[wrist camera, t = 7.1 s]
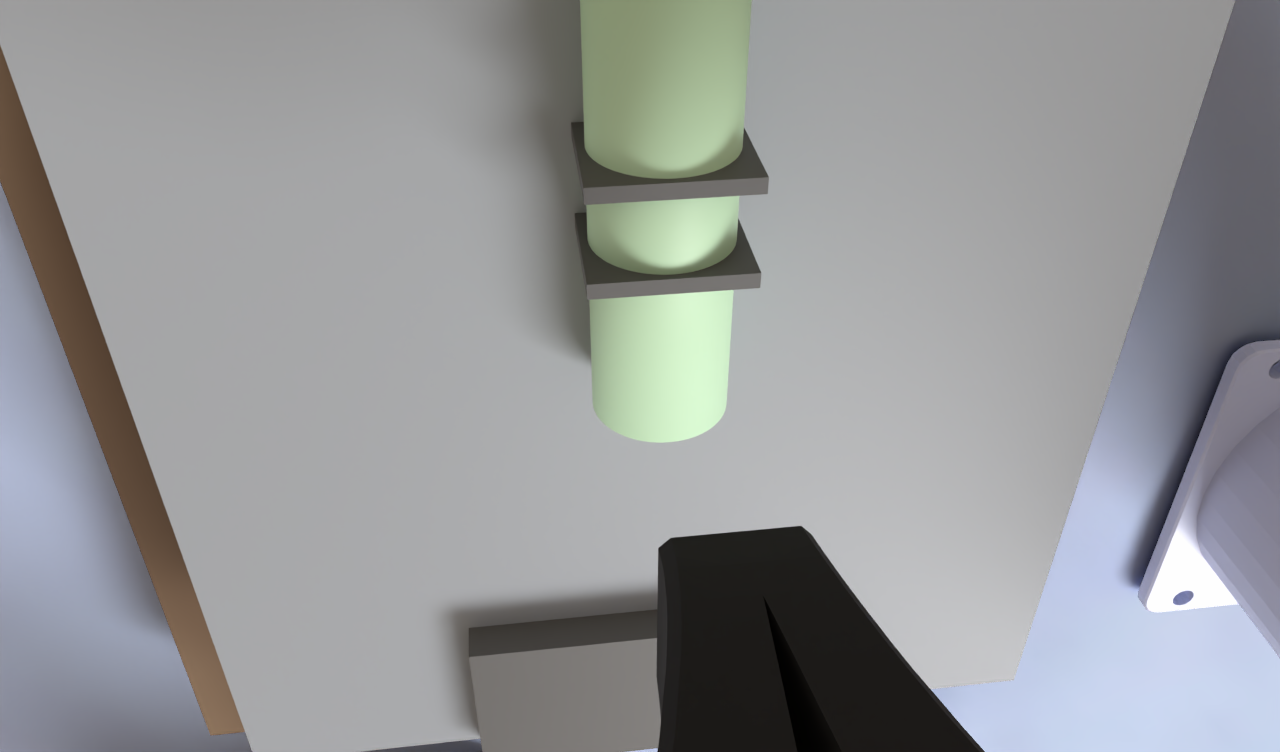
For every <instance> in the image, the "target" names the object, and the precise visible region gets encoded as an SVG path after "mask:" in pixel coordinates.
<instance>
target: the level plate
mask: <svg viewBox="0 0 1280 752" xmlns="http://www.w3.org/2000/svg"><path fill="white" fill-rule="evenodd" d="M1234 4H1235V0H0V46H1V48H2V51H3V54H4V57H5V60H6V62H7V65H8V68H9V71H10V74H11V76H12V79H13V82H14V85H15V88H16V90H17V93H18V96H19V99H20V102H21V105H22V107H23V110H24V113H25V116H26V119H27V121H28V124H29V127H30V130H31V133H32V135H33V138H34V141H35V144H36V147H37V149H38V152H39V155H40V158H41V161H42V163H43V166H44V169H45V172H46V175H47V177H48V180H49V183H50V186H51V189H52V192H53V194H54V197H55V200H56V203H57V206H58V208H59V211H60V214H61V217H62V220H63V222H64V225H65V228H66V231H67V234H68V236H69V239H70V242H71V245H72V248H73V250H74V253H75V256H76V259H77V262H78V264H79V267H80V270H81V273H82V276H83V278H84V281H85V284H86V287H87V290H88V293H89V295H90V298H91V301H92V304H93V307H94V309H95V312H96V315H97V318H98V321H99V323H100V326H101V329H102V332H103V335H104V337H105V340H106V343H107V346H108V349H109V351H110V354H111V357H112V360H113V363H114V365H115V368H116V371H117V374H118V377H119V380H120V382H121V385H122V388H123V391H124V394H125V396H126V399H127V402H128V405H129V408H130V410H131V413H132V416H133V419H134V422H135V424H136V427H137V430H138V433H139V436H140V438H141V441H142V444H143V447H144V450H145V452H146V455H147V458H148V461H149V464H150V467H151V469H152V472H153V475H154V478H155V481H156V483H157V486H158V489H159V492H160V495H161V497H162V500H163V503H164V506H165V509H166V511H167V514H168V517H169V520H170V523H171V525H172V528H173V531H174V534H175V537H176V539H177V542H178V545H179V548H180V551H181V553H182V556H183V559H184V562H185V565H186V568H187V570H188V573H189V576H190V579H191V582H192V584H193V587H194V590H195V593H196V596H197V598H198V601H199V604H200V607H201V610H202V612H203V615H204V618H205V621H206V624H207V626H208V629H209V632H210V635H211V638H212V640H213V643H214V646H215V649H216V652H217V655H218V657H219V660H220V663H221V666H222V669H223V671H224V674H225V677H226V680H227V683H228V685H229V688H230V691H231V694H232V697H233V699H234V702H235V705H236V708H237V711H238V713H239V716H240V719H241V722H242V725H243V727H244V730H245V733H246V736H247V739H248V742H249V744H250V747H251V750H252V752H362V751H371V750H381V749H390V748H399V747H408V746H417V745H426V744H435V743H444V742H454V741H463V740H472V739H481V746H482V752H626V751H635V750H644V749H653V748H658V745H659V737H660V726H661V714H660V703H659V694H658V685H657V677H656V673H657V601H658V548H659V547H660V546H661V545H663V544H664V543H665V542H666V541H667V540H669V539H670V538H674V537H684V536H695V535H706V534H717V533H728V532H739V531H750V530H760V529H771V528H782V527H793V526H802V527H803V528H805V529H806V530H807V531H808V532H809V533H811V534H812V536H813V537H814V539H815V540H816V542H817V543H818V544H819V546H820V547H821V549H822V550H823V552H824V553H825V554H826V556H827V557H828V559H829V560H830V561H831V563H832V564H833V566H834V567H835V568H836V570H837V571H838V573H839V574H840V575H841V577H842V578H843V579H844V581H845V582H846V584H847V585H848V586H849V588H850V589H851V590H852V592H853V593H854V594H855V596H856V597H857V598H858V600H859V601H860V602H861V604H862V605H863V606H864V608H865V609H866V610H867V611H868V613H869V614H870V615H871V617H872V618H873V619H874V620H875V622H876V623H877V624H878V626H879V627H880V628H881V629H882V631H883V632H884V633H885V635H886V636H887V637H888V638H889V640H890V641H891V642H892V643H893V645H894V646H895V647H896V648H897V650H898V651H899V652H900V653H901V655H902V656H903V657H904V658H905V660H906V661H907V662H908V663H909V664H910V666H911V667H912V668H913V669H914V671H915V672H916V673H917V674H918V675H919V676H920V678H921V679H922V680H923V681H924V682H925V683H926V685H927V686H928V687H929V688H930V689H937V688H946V687H955V686H965V685H974V684H983V683H992V682H1001V681H1010V680H1014V677H1015V674H1016V671H1017V668H1018V665H1019V662H1020V659H1021V656H1022V653H1023V650H1024V647H1025V644H1026V641H1027V638H1028V635H1029V631H1030V628H1031V625H1032V622H1033V619H1034V616H1035V613H1036V610H1037V607H1038V604H1039V601H1040V598H1041V595H1042V592H1043V589H1044V586H1045V582H1046V579H1047V576H1048V573H1049V570H1050V567H1051V564H1052V561H1053V558H1054V555H1055V552H1056V549H1057V546H1058V543H1059V540H1060V537H1061V533H1062V530H1063V527H1064V524H1065V521H1066V518H1067V515H1068V512H1069V509H1070V506H1071V503H1072V500H1073V497H1074V494H1075V491H1076V488H1077V484H1078V481H1079V478H1080V475H1081V472H1082V469H1083V466H1084V463H1085V460H1086V457H1087V454H1088V451H1089V448H1090V445H1091V442H1092V439H1093V435H1094V432H1095V429H1096V426H1097V423H1098V420H1099V417H1100V414H1101V411H1102V408H1103V405H1104V402H1105V399H1106V396H1107V393H1108V389H1109V386H1110V383H1111V380H1112V377H1113V374H1114V371H1115V368H1116V365H1117V362H1118V359H1119V356H1120V353H1121V350H1122V347H1123V344H1124V340H1125V337H1126V334H1127V331H1128V328H1129V325H1130V322H1131V319H1132V316H1133V313H1134V310H1135V307H1136V304H1137V301H1138V298H1139V295H1140V291H1141V288H1142V285H1143V282H1144V279H1145V276H1146V273H1147V270H1148V267H1149V264H1150V261H1151V258H1152V255H1153V252H1154V249H1155V246H1156V242H1157V239H1158V236H1159V233H1160V230H1161V227H1162V224H1163V221H1164V218H1165V215H1166V212H1167V209H1168V206H1169V203H1170V200H1171V197H1172V193H1173V190H1174V187H1175V184H1176V181H1177V178H1178V175H1179V172H1180V169H1181V166H1182V163H1183V160H1184V157H1185V154H1186V151H1187V148H1188V144H1189V141H1190V138H1191V135H1192V132H1193V129H1194V126H1195V123H1196V120H1197V117H1198V114H1199V111H1200V108H1201V105H1202V102H1203V99H1204V95H1205V92H1206V89H1207V86H1208V83H1209V80H1210V77H1211V74H1212V71H1213V68H1214V65H1215V62H1216V59H1217V56H1218V53H1219V49H1220V46H1221V43H1222V40H1223V37H1224V34H1225V31H1226V28H1227V25H1228V22H1229V19H1230V16H1231V13H1232V10H1233V7H1234Z"/></svg>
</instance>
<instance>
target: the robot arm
mask: <svg viewBox="0 0 1280 752" xmlns="http://www.w3.org/2000/svg"><path fill="white" fill-rule="evenodd" d="M1277 361H1279V362H1278V363H1276V362H1277ZM1274 363H1276V364H1275V365H1273V364H1274ZM1272 365H1273V366H1272ZM1138 598H1139V600H1140V601H1141V603H1142V604H1143V606H1144V607H1145V609H1146V610H1148V611H1150V612H1166V611H1176V610H1186V609H1195V608H1205V607H1214V606H1224V605H1234V604H1239V605H1240V606H1241V608H1242V609H1243V610H1244V612H1245V613H1246V614H1247V616H1248V617H1249V618H1250V620H1251V621H1252V622H1253V624H1254V625H1255V626H1256V628H1257V629H1258V630H1259V632H1260V633H1261V634H1262V635H1263V637H1264V638H1265V639H1266V641H1267V642H1268V643H1269V645H1270V646H1271V647H1272V649H1273V650H1274V651H1275V653H1276V654H1277V655H1278V657H1279V658H1280V340H1270V341H1257V342H1253V343H1249V344H1246V345H1244V346H1243V347H1241V348H1239V349H1238V350H1237V351H1236V352H1235V353H1233V354H1232V356H1231V358H1230V359H1229V361H1228V363H1227V365H1226V368H1225V370H1224V373H1223V375H1222V378H1221V381H1220V383H1219V386H1218V388H1217V391H1216V393H1215V396H1214V399H1213V401H1212V404H1211V406H1210V409H1209V411H1208V414H1207V416H1206V419H1205V422H1204V424H1203V427H1202V429H1201V432H1200V434H1199V437H1198V440H1197V442H1196V445H1195V447H1194V450H1193V452H1192V455H1191V457H1190V460H1189V463H1188V465H1187V468H1186V470H1185V473H1184V475H1183V478H1182V481H1181V483H1180V486H1179V488H1178V491H1177V493H1176V496H1175V498H1174V501H1173V504H1172V506H1171V509H1170V511H1169V514H1168V516H1167V519H1166V522H1165V524H1164V527H1163V529H1162V532H1161V534H1160V537H1159V539H1158V542H1157V545H1156V547H1155V550H1154V552H1153V555H1152V557H1151V560H1150V563H1149V565H1148V568H1147V570H1146V573H1145V575H1144V578H1143V580H1142V583H1141V586H1140V588H1139V591H1138ZM656 677H657V685H658V694H659V703H660V714H661V726H660V737H659V745H658V752H984V750H983V749H982V748H981V747H980V746H979V745H978V744H977V743H976V741H975V740H974V739H973V738H972V737H971V736H970V735H969V734H968V733H967V731H966V730H965V729H964V728H963V727H962V726H961V725H960V723H959V722H958V721H957V720H956V719H955V718H954V716H953V715H952V714H951V713H950V712H949V711H948V709H947V708H946V707H945V706H944V705H943V703H942V702H941V701H940V700H939V699H938V698H937V696H936V695H935V694H934V693H933V692H932V691H931V689H930V688H929V687H928V686H927V685H926V683H925V682H924V681H923V680H922V679H921V678H920V676H919V675H918V674H917V673H916V672H915V671H914V669H913V668H912V667H911V666H910V664H909V663H908V662H907V661H906V660H905V658H904V657H903V656H902V655H901V653H900V652H899V651H898V650H897V648H896V647H895V646H894V645H893V643H892V642H891V641H890V640H889V638H888V637H887V636H886V635H885V633H884V632H883V631H882V629H881V628H880V627H879V626H878V624H877V623H876V622H875V620H874V619H873V618H872V617H871V615H870V614H869V613H868V611H867V610H866V609H865V608H864V606H863V605H862V604H861V602H860V601H859V600H858V598H857V597H856V596H855V594H854V593H853V592H852V590H851V589H850V588H849V586H848V585H847V584H846V582H845V581H844V579H843V578H842V577H841V575H840V574H839V573H838V571H837V570H836V568H835V567H834V566H833V564H832V563H831V561H830V560H829V559H828V557H827V556H826V554H825V553H824V552H823V550H822V549H821V547H820V546H819V544H818V543H817V542H816V540H815V539H814V537H813V536H812V534H811V533H809V532H808V531H807V530H806V529H805V528H803V527H802V526H793V527H782V528H771V529H760V530H750V531H739V532H728V533H717V534H706V535H695V536H684V537H674V538H670V539H669V540H667V541H666V542H665V543H664V544H663V545H661V546H660V547H659V548H658V601H657V673H656Z"/></svg>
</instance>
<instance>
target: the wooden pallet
mask: <svg viewBox="0 0 1280 752" xmlns="http://www.w3.org/2000/svg"><path fill="white" fill-rule="evenodd" d="M0 182H1V184H2V187H3V190H4V192H5V195H6V197H7V200H8V203H9V205H10V208H11V211H12V213H13V216H14V219H15V221H16V224H17V226H18V229H19V232H20V234H21V237H22V240H23V242H24V245H25V248H26V250H27V253H28V255H29V258H30V261H31V263H32V266H33V269H34V271H35V274H36V277H37V279H38V282H39V284H40V287H41V290H42V292H43V295H44V298H45V300H46V303H47V306H48V308H49V311H50V313H51V316H52V319H53V321H54V324H55V327H56V329H57V332H58V335H59V337H60V340H61V342H62V345H63V348H64V350H65V353H66V356H67V358H68V361H69V364H70V366H71V369H72V371H73V374H74V377H75V379H76V382H77V385H78V387H79V390H80V393H81V395H82V398H83V400H84V403H85V406H86V408H87V411H88V414H89V416H90V419H91V422H92V424H93V427H94V429H95V432H96V435H97V437H98V440H99V443H100V445H101V448H102V451H103V453H104V456H105V458H106V461H107V464H108V466H109V469H110V472H111V474H112V477H113V480H114V482H115V485H116V487H117V490H118V493H119V495H120V498H121V501H122V503H123V506H124V509H125V511H126V514H127V516H128V519H129V522H130V524H131V527H132V530H133V532H134V535H135V538H136V540H137V543H138V545H139V548H140V551H141V553H142V556H143V559H144V561H145V564H146V567H147V569H148V572H149V574H150V577H151V580H152V582H153V585H154V588H155V590H156V593H157V596H158V598H159V601H160V603H161V606H162V609H163V611H164V614H165V617H166V619H167V622H168V625H169V627H170V630H171V632H172V635H173V638H174V640H175V643H176V646H177V648H178V651H179V654H180V656H181V659H182V661H183V664H184V667H185V669H186V672H187V675H188V677H189V680H190V683H191V685H192V688H193V690H194V693H195V696H196V698H197V701H198V704H199V706H200V709H201V712H202V714H203V717H204V719H205V722H206V725H207V727H208V730H209V733H210V735H220V734H229V733H239V732H245V730H244V727H243V725H242V722H241V719H240V716H239V713H238V711H237V708H236V705H235V702H234V699H233V697H232V694H231V691H230V688H229V685H228V683H227V680H226V677H225V674H224V671H223V669H222V666H221V663H220V660H219V657H218V655H217V652H216V649H215V646H214V643H213V640H212V638H211V635H210V632H209V629H208V626H207V624H206V621H205V618H204V615H203V612H202V610H201V607H200V604H199V601H198V598H197V596H196V593H195V590H194V587H193V584H192V582H191V579H190V576H189V573H188V570H187V568H186V565H185V562H184V559H183V556H182V553H181V551H180V548H179V545H178V542H177V539H176V537H175V534H174V531H173V528H172V525H171V523H170V520H169V517H168V514H167V511H166V509H165V506H164V503H163V500H162V497H161V495H160V492H159V489H158V486H157V483H156V481H155V478H154V475H153V472H152V469H151V467H150V464H149V461H148V458H147V455H146V452H145V450H144V447H143V444H142V441H141V438H140V436H139V433H138V430H137V427H136V424H135V422H134V419H133V416H132V413H131V410H130V408H129V405H128V402H127V399H126V396H125V394H124V391H123V388H122V385H121V382H120V380H119V377H118V374H117V371H116V368H115V365H114V363H113V360H112V357H111V354H110V351H109V349H108V346H107V343H106V340H105V337H104V335H103V332H102V329H101V326H100V323H99V321H98V318H97V315H96V312H95V309H94V307H93V304H92V301H91V298H90V295H89V293H88V290H87V287H86V284H85V281H84V278H83V276H82V273H81V270H80V267H79V264H78V262H77V259H76V256H75V253H74V250H73V248H72V245H71V242H70V239H69V236H68V234H67V231H66V228H65V225H64V222H63V220H62V217H61V214H60V211H59V208H58V206H57V203H56V200H55V197H54V194H53V192H52V189H51V186H50V183H49V180H48V177H47V175H46V172H45V169H44V166H43V163H42V161H41V158H40V155H39V152H38V149H37V147H36V144H35V141H34V138H33V135H32V133H31V130H30V127H29V124H28V121H27V119H26V116H25V113H24V110H23V107H22V105H21V102H20V99H19V96H18V93H17V90H16V88H15V85H14V82H13V79H12V76H11V74H10V71H9V68H8V65H7V62H6V60H5V57H4V54H3V51H2V48H1V46H0Z"/></svg>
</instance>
